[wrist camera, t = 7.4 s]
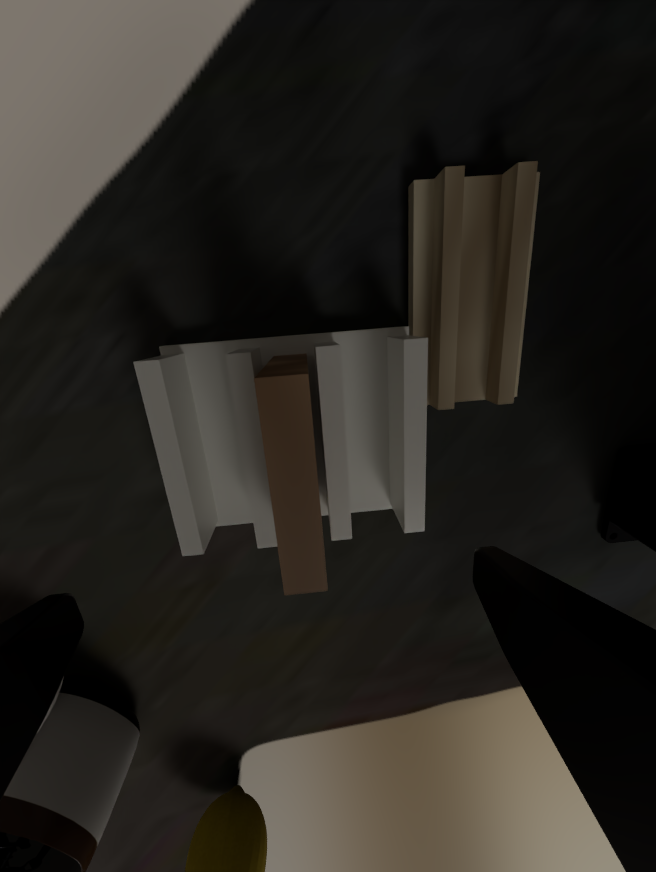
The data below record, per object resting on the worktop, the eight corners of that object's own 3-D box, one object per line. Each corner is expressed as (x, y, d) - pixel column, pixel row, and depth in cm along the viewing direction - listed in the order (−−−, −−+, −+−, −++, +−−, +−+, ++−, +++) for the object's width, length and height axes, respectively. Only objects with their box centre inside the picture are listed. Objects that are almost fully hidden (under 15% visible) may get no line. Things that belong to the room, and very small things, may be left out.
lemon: (205, 763, 27) (166, 936, 19) (275, 765, 28) (264, 933, 20) (200, 806, 29) (163, 980, 21) (267, 807, 29) (254, 977, 22)
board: (306, 353, 17) (308, 374, 10) (319, 498, 19) (327, 590, 13) (273, 355, 17) (254, 378, 10) (291, 501, 19) (284, 595, 13)
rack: (404, 326, 17) (430, 327, 14) (405, 500, 21) (426, 537, 17) (165, 345, 17) (127, 351, 13) (203, 520, 20) (182, 563, 17)
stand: (528, 179, 16) (559, 159, 14) (508, 393, 19) (530, 401, 17) (408, 186, 15) (422, 168, 14) (408, 402, 19) (420, 411, 17)
